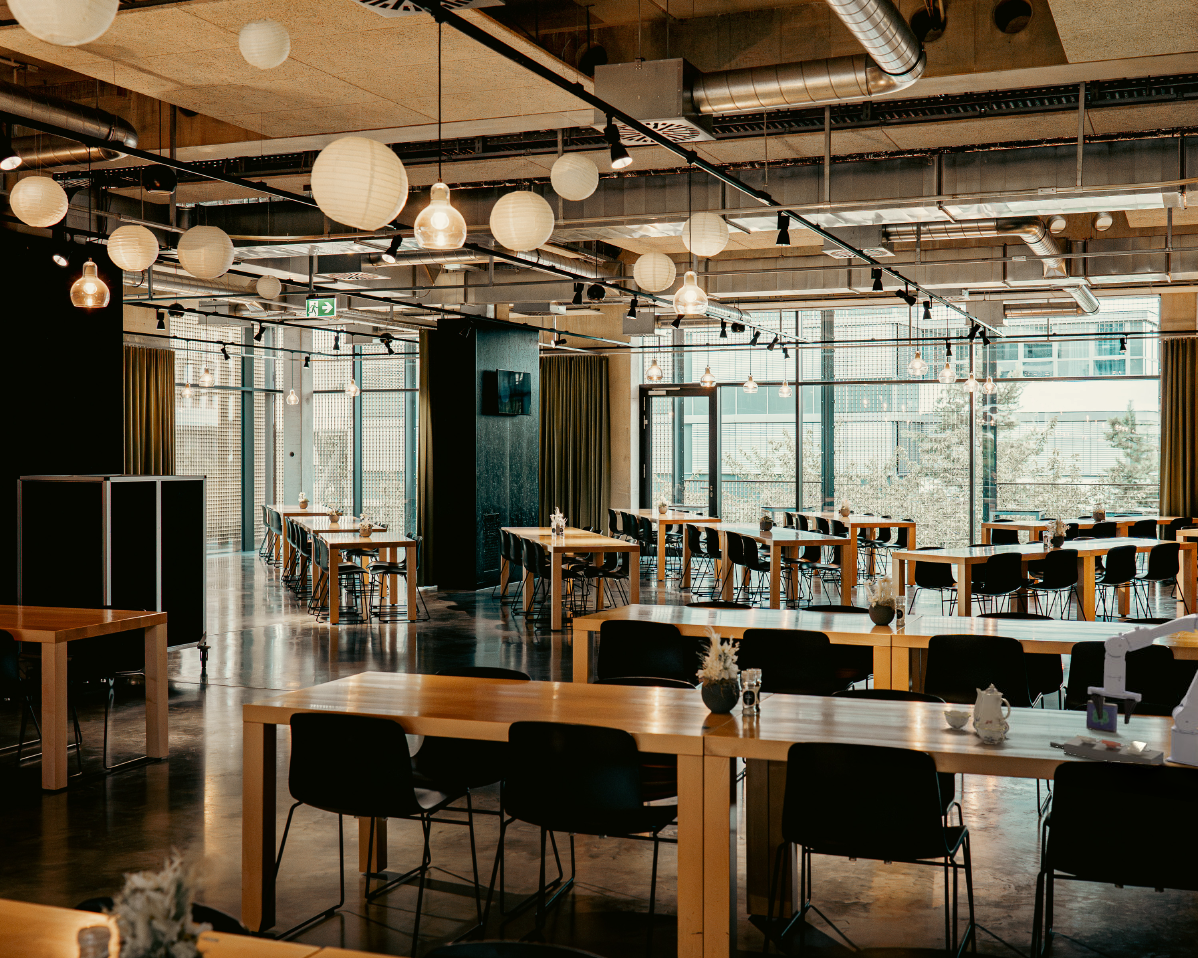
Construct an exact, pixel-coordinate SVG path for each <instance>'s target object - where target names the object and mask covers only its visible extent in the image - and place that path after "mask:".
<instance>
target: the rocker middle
mask: <svg viewBox="0 0 1198 958" xmlns="http://www.w3.org/2000/svg"><path fill="white" fill-rule="evenodd" d="M1101 741H1102V743H1103V744H1106V745H1105V746H1108V747H1113V748H1116V747H1117V746H1119V747H1121V744H1122V743H1120V742H1116V741H1113V740H1108V739H1101Z"/></svg>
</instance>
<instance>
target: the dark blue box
mask: <svg viewBox="0 0 1198 958" xmlns="http://www.w3.org/2000/svg"><path fill="white" fill-rule="evenodd" d="M1105 700H1106V698H1105V697H1104V701H1103V719H1101V720H1098V716H1097V712H1096V708H1095V706H1094V704H1093V702H1092V700H1087V703H1086V721H1085V722H1086V723H1085V724H1086V729H1088V728H1091V729H1090V730H1093V729H1095V731H1102V732H1106V733H1107V732H1108V733H1114V732H1115V733H1117V731H1118V727H1117V726H1118V724H1117V723H1118V704H1116V703H1109V702H1105Z"/></svg>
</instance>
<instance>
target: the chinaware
mask: <svg viewBox="0 0 1198 958" xmlns="http://www.w3.org/2000/svg"><path fill="white" fill-rule="evenodd" d="M976 692H977V698H976V701H975V704H974V708H973V715H971V713H970V712H968V711H963V712H962V711H959V710H956V709H951V710H950V711H948V710H943V711H942V712H943V714H944V717H945V721H946V723H947V724H948V725H949V726H950V727H951V728H950V729H951V730H954V731H962V730H963V729H962V728H964V727H965V726H966V725H967V724H968V723H969V720H970V718H971V717H972V716H973V722H972V727H973V728H974V729H975V730H976V735H978V736H979V737H980V738H981V740H983V743H984V744H988V745H997V744H998V743H1003V742H1004V741H1005V737H1006V734H1007V733H1008V732H1009V731H1010V725H1009V724H1008V721H1007V720H1006V719H1008V718H1009V717H1010V715H1011V713H1012V712H1011V711H1012V709H1011V705H1010V703H1009V701H1008V700H1007V699H1006V698H1002V697H1003V693H1002V692H1000V691H999V690H998V689H997V688H996V687H995V685H994V684H992V683H991V684H990V685H989V687H988V688H986V689H985V690H981V689H980V688H976ZM1003 702H1004V703H1005V705H1006V707H1007V713H1006V715H1005V717H1004V714H1003V710H1002V704H1003ZM1000 739H1002V740H1001V741H1000Z"/></svg>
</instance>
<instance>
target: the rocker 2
mask: <svg viewBox="0 0 1198 958" xmlns="http://www.w3.org/2000/svg"><path fill="white" fill-rule="evenodd" d="M1128 746H1129V747H1128V749H1127V753H1132V754H1137V755H1141V754H1142V753H1143V751H1144V750H1145V748H1146V749H1147V747H1148V744H1147V742H1141V741H1135V740H1133V741H1132V742H1131V744H1130V745H1128Z"/></svg>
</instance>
